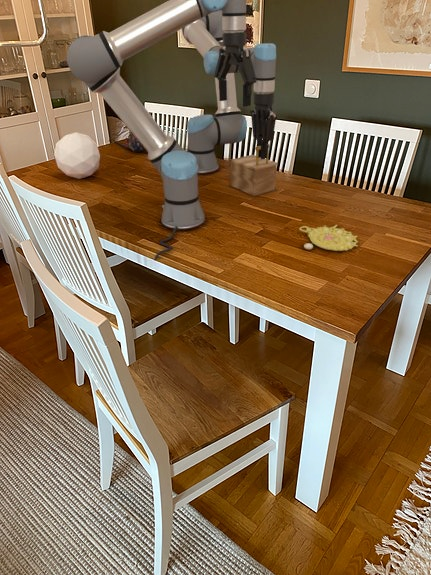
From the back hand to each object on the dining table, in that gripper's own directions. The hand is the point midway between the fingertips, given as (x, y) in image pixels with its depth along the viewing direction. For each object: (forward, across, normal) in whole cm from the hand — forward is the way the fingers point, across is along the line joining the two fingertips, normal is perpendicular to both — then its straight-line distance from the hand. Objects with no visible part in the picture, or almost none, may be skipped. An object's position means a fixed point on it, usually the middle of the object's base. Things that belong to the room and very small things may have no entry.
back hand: (262, 157), depth 172 cm
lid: (+3, +5, 0) cm, 6 cm away
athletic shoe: (+13, +89, +13) cm, 91 cm away
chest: (+14, +6, 0) cm, 15 cm away
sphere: (+14, +65, +52) cm, 84 cm away
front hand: (-22, -2, +15) cm, 27 cm away
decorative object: (+14, -47, +11) cm, 50 cm away
